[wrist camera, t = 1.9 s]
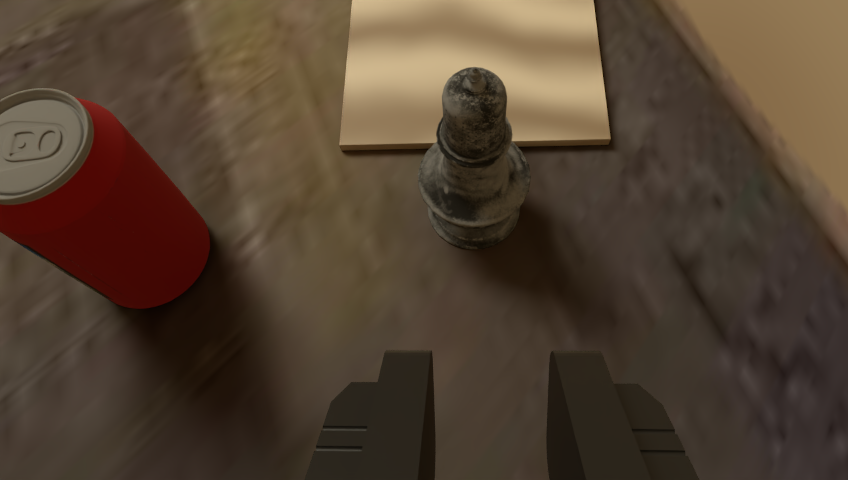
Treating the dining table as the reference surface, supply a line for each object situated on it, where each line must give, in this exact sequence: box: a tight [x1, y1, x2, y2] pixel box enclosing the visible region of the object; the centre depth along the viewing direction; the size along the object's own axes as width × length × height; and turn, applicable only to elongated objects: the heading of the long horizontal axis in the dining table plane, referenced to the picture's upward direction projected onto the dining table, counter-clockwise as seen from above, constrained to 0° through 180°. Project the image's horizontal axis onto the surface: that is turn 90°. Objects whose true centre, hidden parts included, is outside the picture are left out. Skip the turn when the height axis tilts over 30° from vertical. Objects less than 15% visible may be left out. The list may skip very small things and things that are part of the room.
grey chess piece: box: [418, 67, 531, 249], centre depth 31 cm, size 6×6×12 cm
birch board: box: [339, 0, 611, 150], centre depth 41 cm, size 16×16×1 cm
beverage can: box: [0, 88, 210, 309], centre depth 31 cm, size 7×7×12 cm
